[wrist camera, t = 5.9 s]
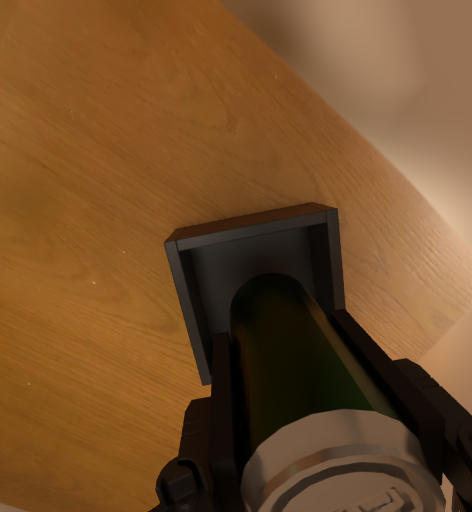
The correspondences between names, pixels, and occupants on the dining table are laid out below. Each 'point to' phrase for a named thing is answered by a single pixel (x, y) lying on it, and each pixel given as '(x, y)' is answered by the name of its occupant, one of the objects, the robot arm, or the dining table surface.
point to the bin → (252, 265)
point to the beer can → (315, 414)
